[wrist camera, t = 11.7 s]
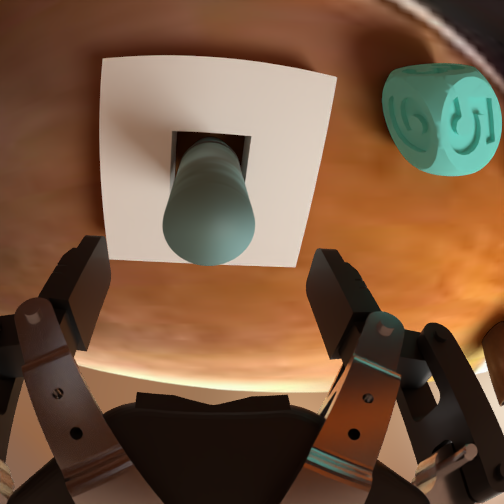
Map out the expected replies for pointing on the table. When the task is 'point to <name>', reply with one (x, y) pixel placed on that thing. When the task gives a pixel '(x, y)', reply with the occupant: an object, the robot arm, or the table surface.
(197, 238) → the peg
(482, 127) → the decorative dice
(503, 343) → the plant pot
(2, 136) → the table surface
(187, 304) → the table surface
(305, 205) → the hole board
